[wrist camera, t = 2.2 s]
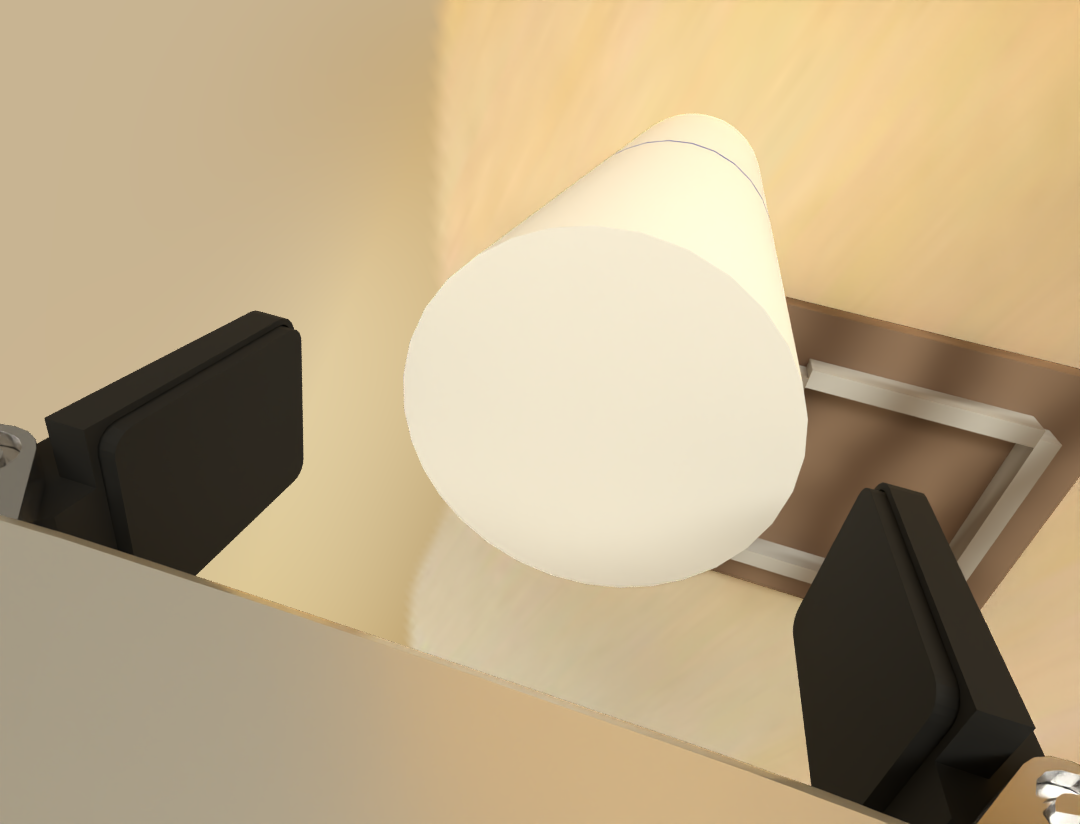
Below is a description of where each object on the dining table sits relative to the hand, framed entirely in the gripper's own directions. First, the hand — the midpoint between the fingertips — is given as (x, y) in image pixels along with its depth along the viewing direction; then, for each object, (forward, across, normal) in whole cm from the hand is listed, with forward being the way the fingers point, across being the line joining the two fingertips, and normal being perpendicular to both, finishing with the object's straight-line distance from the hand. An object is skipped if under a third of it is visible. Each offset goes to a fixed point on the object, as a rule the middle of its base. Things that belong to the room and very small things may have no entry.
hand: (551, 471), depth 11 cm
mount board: (+26, -15, +12) cm, 32 cm away
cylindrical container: (+26, -1, 0) cm, 26 cm away
